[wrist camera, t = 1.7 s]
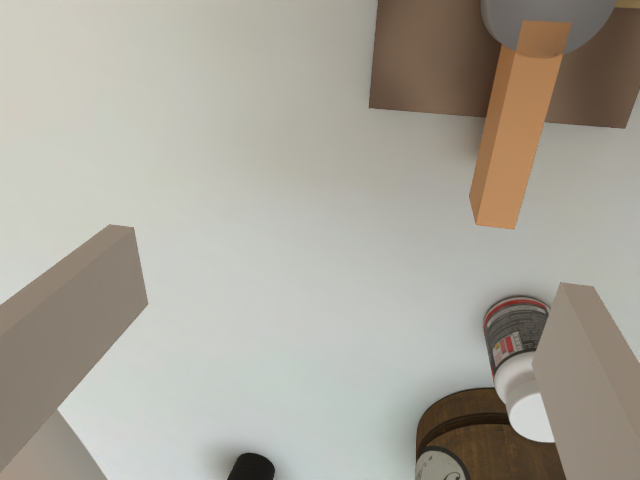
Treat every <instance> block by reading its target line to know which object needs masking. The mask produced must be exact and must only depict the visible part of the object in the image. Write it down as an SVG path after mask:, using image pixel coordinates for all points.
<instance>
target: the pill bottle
mask: <svg viewBox="0 0 640 480" xmlns="http://www.w3.org/2000/svg"><path fill="white" fill-rule="evenodd" d="M550 310H551V309H550V308H549V307H548V306H546V305H545V304H543V303H542V302H540V301H537V300H535V299H531V298H525V297H517V298H511V299H507V300H504V301H502V302H500V303H498V304H496V305H495V306H494V307H492V308H491V309H490V311H489V312H488V313H487V315H486V317H485V320H484V325H483V328H484V335H485V340H486V345H487V350H488V355H489V360H490V365H491V370H492V375H493V381H494V385H495V389H496V392H497V394H498V396H499V397H500V399H501V400H502V401H503V402H504V403H505V404H506V409H507V413H508V417H509V421H510V423H511V425H512V427H513V428H514V430H515V431H516V432H518V433H519V434H520V435H522V436H524V437H526V438H528V439H530V440H534V441H538V442H555V440H554V437H553V434H552V430H551V427H550V424H549V421H548V417H547V414H546V411H545V407H544V404H543V401H542V397H541V394H540V391H539V388H538V384H537V381H536V378H535V374H534V371H533V368H532V365H531V364H532V361H533V358H534V355H535V352H536V349H537V347H538V344H539V341H540V338H541V335H542V333H543V330H544V327H545V324H546V321H547V319H548V316H549V313H550Z"/></svg>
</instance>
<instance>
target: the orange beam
mask: <svg viewBox="0 0 640 480" xmlns="http://www.w3.org/2000/svg"><path fill="white" fill-rule="evenodd" d="M616 2H617V0H481V15H482V19H483V22H484V24H485V27H486V28H487V30H488V32H489V33H490V34H491V36H492V37H493V38H494V39H496V40H497V41H498V42H499V43H501V44H502V46H501V50H500V55H499V60H498V64H497V69H496V74H495V78H494V83H493V88H492V92H491V97H490V102H489V106H488V111H487V116H486V120H485V125H484V130H483V134H482V139H481V144H480V148H479V153H478V158H477V162H476V167H475V172H474V176H473V181H472V186H471V190H470V195H469V198H470V202H471V207H472V211H473V215H474V219H475V223H476V225H480V226H489V227H497V228H506V229H515V226H516V222H517V218H518V215H519V211H520V208H521V204H522V200H523V197H524V193H525V190H526V186H527V183H528V179H529V175H530V172H531V168H532V165H533V161H534V157H535V154H536V150H537V147H538V143H539V139H540V136H541V132H542V129H543V125H544V121H545V118H546V114H547V111H548V107H549V103H550V100H551V96H552V93H553V89H554V85H555V82H556V78H557V75H558V71H559V67H560V64H561V60H562V57H563V55H564V54H567V53H569V52H571V51H573V50H575V49H577V48H579V47H580V46H582V45H583V44H585V43H586V42H587V41H589V40H590V39H591V38H592V37H593V36H594V35H595V34H596V33H597V32H598V31H599V30H600V29H601V28H602V27H603V25H604V24H605V23H606V21H607V20H608V18H609V17H610V15H611V13H612V11H613V9H614V7H615V5H616Z"/></svg>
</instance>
